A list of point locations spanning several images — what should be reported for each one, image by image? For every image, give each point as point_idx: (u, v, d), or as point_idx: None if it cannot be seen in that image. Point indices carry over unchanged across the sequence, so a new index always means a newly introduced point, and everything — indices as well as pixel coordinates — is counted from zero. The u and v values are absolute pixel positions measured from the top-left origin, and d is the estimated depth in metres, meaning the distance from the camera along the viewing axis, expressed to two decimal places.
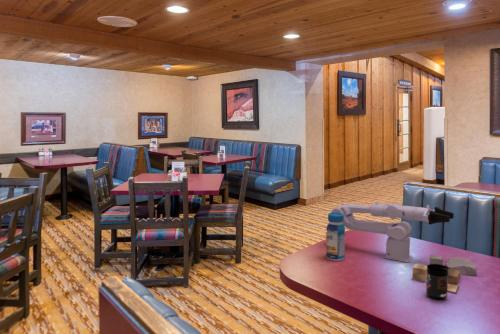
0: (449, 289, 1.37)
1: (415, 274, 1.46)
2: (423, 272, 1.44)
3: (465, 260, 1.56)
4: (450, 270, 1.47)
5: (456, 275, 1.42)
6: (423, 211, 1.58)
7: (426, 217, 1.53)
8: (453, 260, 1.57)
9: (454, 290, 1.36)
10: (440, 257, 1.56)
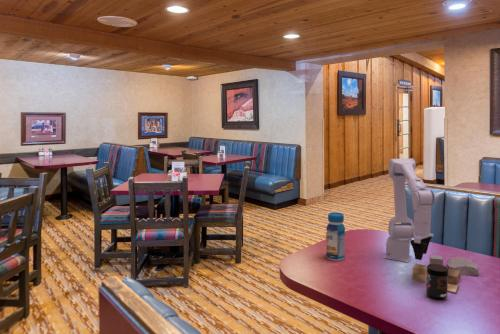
0: (449, 289, 1.37)
1: (415, 274, 1.46)
2: (423, 272, 1.44)
3: (467, 260, 1.56)
4: (450, 270, 1.47)
5: (456, 275, 1.42)
6: (425, 232, 1.42)
7: (418, 242, 1.39)
8: (455, 260, 1.57)
9: (454, 290, 1.36)
10: (440, 257, 1.56)
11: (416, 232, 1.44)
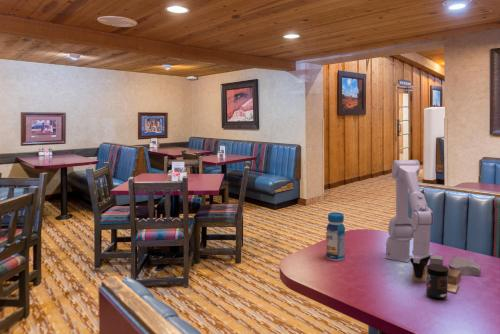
0: (449, 289, 1.37)
1: None
2: (423, 272, 1.44)
3: (469, 260, 1.56)
4: (450, 270, 1.47)
5: (455, 275, 1.42)
6: (424, 252, 1.43)
7: (417, 262, 1.40)
8: (457, 260, 1.57)
9: (454, 290, 1.36)
10: (440, 257, 1.56)
11: (415, 251, 1.45)
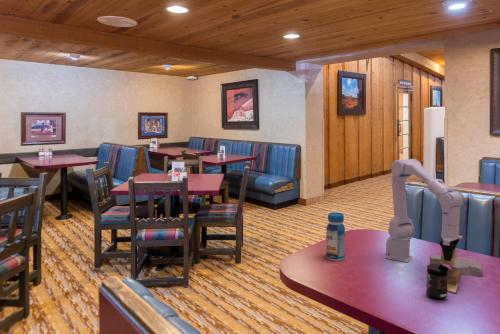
0: (449, 289, 1.37)
1: None
2: (452, 256, 1.42)
3: (470, 260, 1.56)
4: (450, 270, 1.47)
5: (455, 275, 1.42)
6: (454, 234, 1.41)
7: (447, 244, 1.38)
8: (458, 260, 1.57)
9: (454, 290, 1.36)
10: (440, 257, 1.56)
11: (444, 234, 1.43)
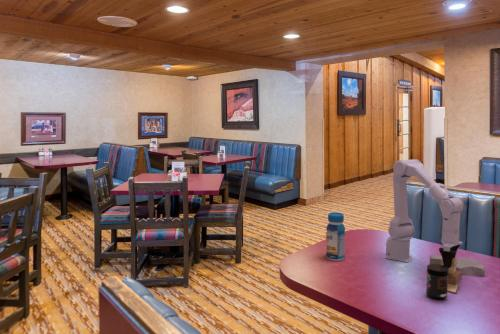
0: (449, 289, 1.37)
1: None
2: (451, 265, 1.43)
3: (472, 260, 1.56)
4: None
5: (455, 275, 1.42)
6: (454, 240, 1.41)
7: (447, 250, 1.38)
8: (460, 261, 1.57)
9: (454, 290, 1.36)
10: (440, 257, 1.56)
11: (445, 240, 1.43)
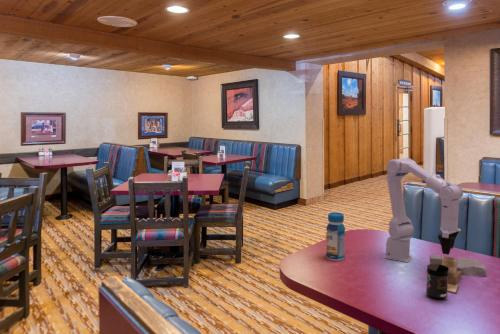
0: (449, 289, 1.37)
1: None
2: (453, 265, 1.42)
3: (474, 260, 1.56)
4: None
5: (455, 275, 1.42)
6: (452, 227, 1.44)
7: (446, 236, 1.41)
8: (462, 261, 1.57)
9: (454, 290, 1.36)
10: (440, 257, 1.56)
11: (443, 227, 1.45)
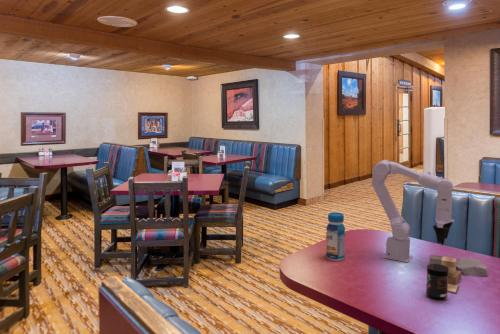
0: (449, 289, 1.37)
1: None
2: (452, 265, 1.42)
3: (475, 260, 1.56)
4: None
5: (455, 275, 1.42)
6: (447, 218, 1.56)
7: (440, 226, 1.53)
8: (463, 261, 1.57)
9: (454, 290, 1.36)
10: (440, 257, 1.56)
11: (438, 218, 1.57)
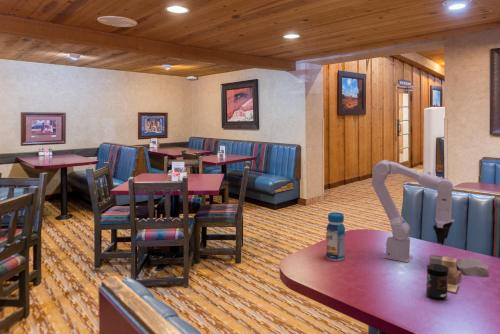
0: (449, 289, 1.37)
1: None
2: (452, 265, 1.42)
3: (476, 261, 1.56)
4: None
5: (455, 275, 1.42)
6: (447, 218, 1.56)
7: (440, 226, 1.53)
8: (464, 261, 1.57)
9: (454, 290, 1.36)
10: (440, 257, 1.56)
11: (438, 218, 1.57)
